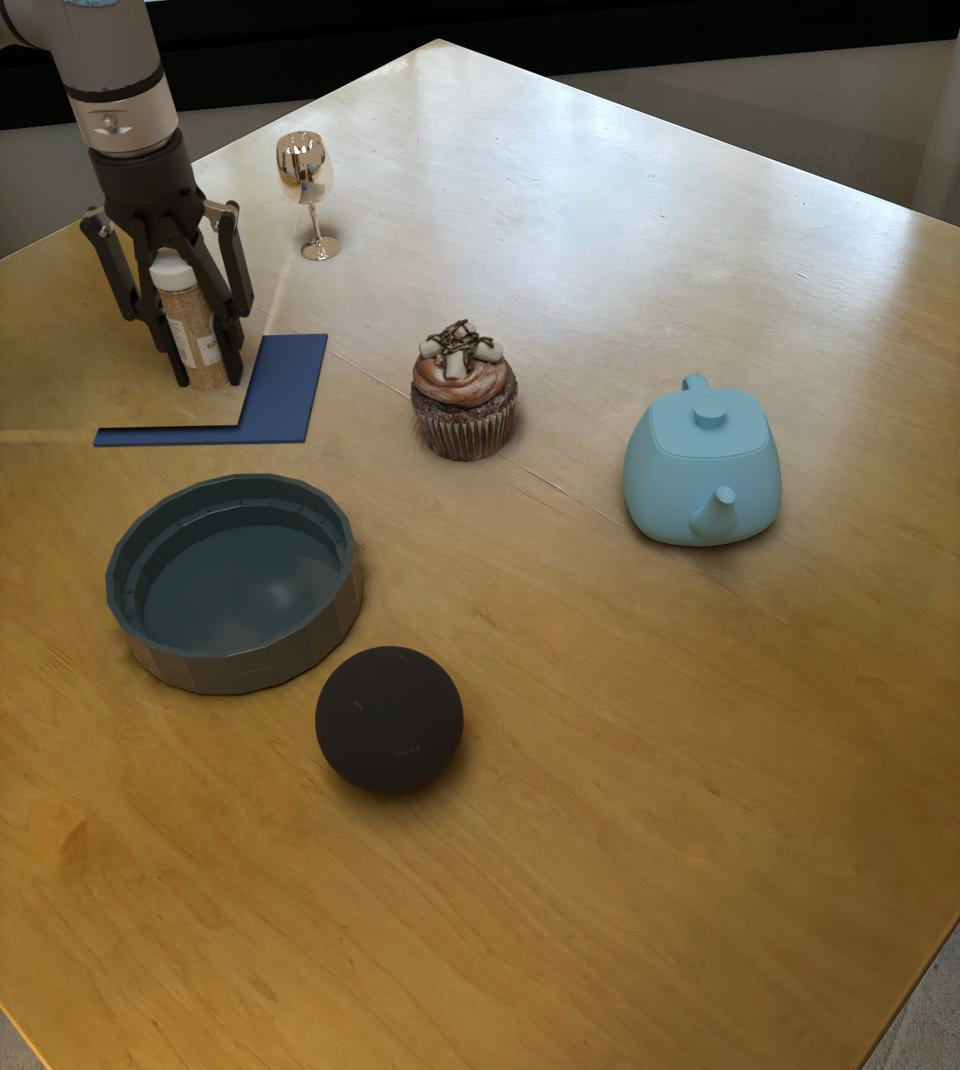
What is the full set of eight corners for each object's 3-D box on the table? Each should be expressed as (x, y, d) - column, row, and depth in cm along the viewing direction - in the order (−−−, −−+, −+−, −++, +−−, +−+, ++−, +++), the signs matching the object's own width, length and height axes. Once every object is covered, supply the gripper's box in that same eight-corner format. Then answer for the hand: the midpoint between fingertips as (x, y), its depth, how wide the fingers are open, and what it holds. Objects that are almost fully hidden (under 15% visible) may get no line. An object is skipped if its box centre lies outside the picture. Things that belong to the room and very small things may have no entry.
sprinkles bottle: (238, 392, 102) (200, 266, 92) (191, 401, 102) (147, 276, 91) (234, 363, 105) (197, 238, 95) (188, 373, 105) (145, 248, 94)
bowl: (98, 697, 82) (75, 657, 78) (157, 517, 94) (139, 475, 90) (347, 697, 80) (336, 656, 76) (375, 514, 92) (366, 471, 88)
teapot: (642, 502, 76) (617, 346, 87) (635, 601, 84) (613, 447, 95) (822, 491, 75) (774, 336, 86) (797, 591, 83) (756, 438, 95)
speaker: (379, 682, 81) (359, 596, 73) (494, 734, 77) (485, 649, 69) (301, 784, 76) (270, 702, 68) (420, 845, 72) (402, 766, 64)
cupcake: (393, 438, 98) (377, 346, 90) (466, 384, 102) (457, 292, 94) (469, 483, 94) (460, 391, 86) (542, 426, 98) (539, 333, 90)
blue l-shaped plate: (93, 447, 100) (92, 443, 100) (135, 342, 110) (134, 338, 110) (304, 442, 98) (303, 439, 98) (328, 336, 108) (327, 333, 108)
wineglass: (357, 242, 119) (338, 135, 109) (325, 268, 116) (303, 161, 107) (316, 229, 121) (294, 123, 112) (284, 255, 118) (259, 149, 109)
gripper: (12, 165, 83) (113, 403, 101) (231, 155, 82) (294, 399, 100) (41, 118, 88) (133, 354, 106) (249, 108, 86) (306, 349, 105)
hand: (211, 376), depth 103 cm, fingers closed on sprinkles bottle, 4 cm apart
